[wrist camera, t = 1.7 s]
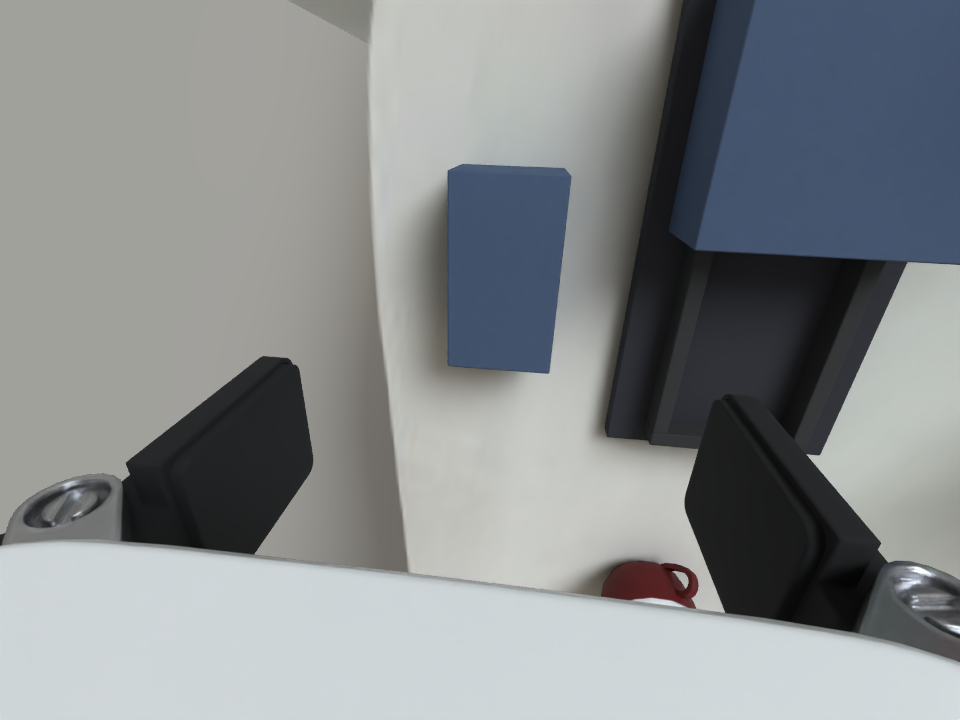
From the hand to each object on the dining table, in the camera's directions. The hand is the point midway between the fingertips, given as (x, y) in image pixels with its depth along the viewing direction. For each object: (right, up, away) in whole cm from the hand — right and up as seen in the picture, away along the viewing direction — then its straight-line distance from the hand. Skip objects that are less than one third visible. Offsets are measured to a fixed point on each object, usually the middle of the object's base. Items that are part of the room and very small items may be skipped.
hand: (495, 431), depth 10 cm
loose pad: (+1, +7, +14) cm, 15 cm away
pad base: (+14, +7, +12) cm, 19 cm away
